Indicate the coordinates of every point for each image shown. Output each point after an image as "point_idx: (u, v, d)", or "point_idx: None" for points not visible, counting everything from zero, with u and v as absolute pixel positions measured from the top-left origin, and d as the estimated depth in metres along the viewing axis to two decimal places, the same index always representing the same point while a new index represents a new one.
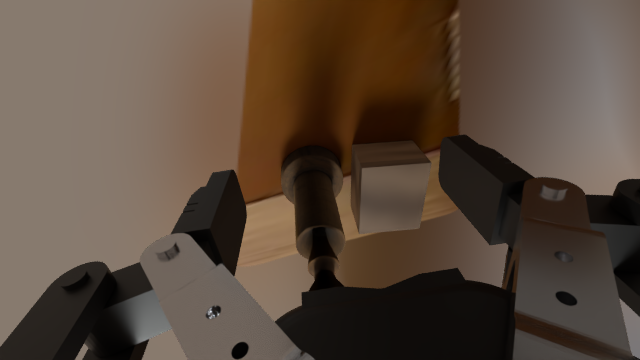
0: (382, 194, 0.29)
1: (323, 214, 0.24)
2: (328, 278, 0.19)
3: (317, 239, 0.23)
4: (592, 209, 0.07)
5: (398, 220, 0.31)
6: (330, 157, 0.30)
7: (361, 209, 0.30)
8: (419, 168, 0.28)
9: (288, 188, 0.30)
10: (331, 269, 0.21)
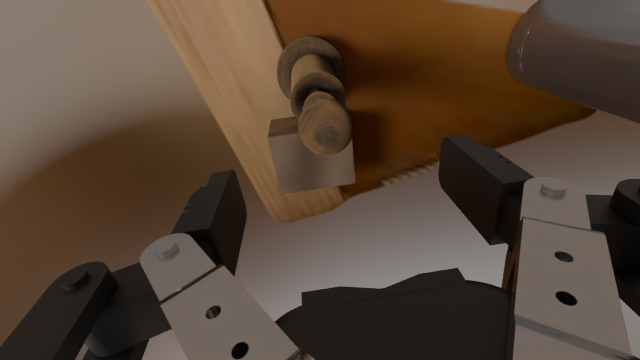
0: None
1: None
2: None
3: None
4: (592, 209, 0.07)
5: (289, 172, 0.30)
6: None
7: None
8: (349, 175, 0.31)
9: (308, 47, 0.27)
10: None
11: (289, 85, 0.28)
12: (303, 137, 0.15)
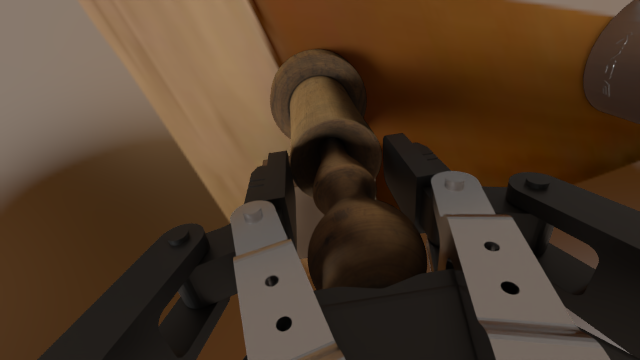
0: None
1: None
2: None
3: None
4: (489, 199, 0.08)
5: None
6: None
7: None
8: None
9: (315, 67, 0.18)
10: None
11: (287, 119, 0.20)
12: None
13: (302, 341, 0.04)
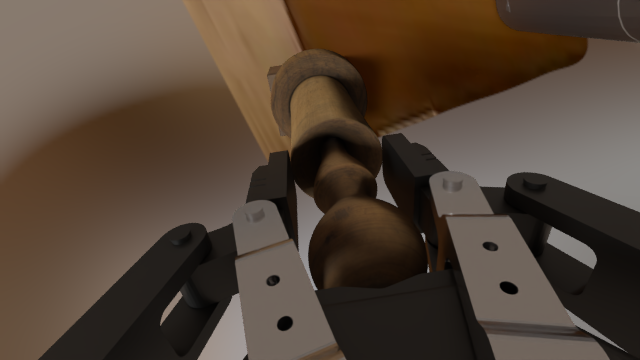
0: None
1: None
2: None
3: None
4: (487, 199, 0.08)
5: None
6: None
7: None
8: None
9: (315, 67, 0.18)
10: None
11: (288, 119, 0.20)
12: None
13: (303, 341, 0.04)
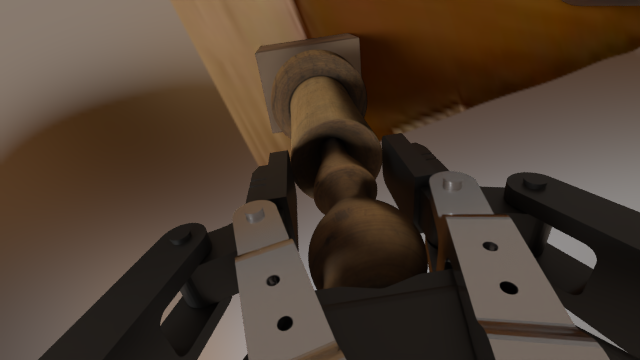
0: None
1: None
2: None
3: None
4: (487, 199, 0.08)
5: None
6: None
7: (297, 48, 0.23)
8: None
9: (315, 67, 0.18)
10: None
11: (288, 119, 0.20)
12: None
13: (303, 341, 0.04)
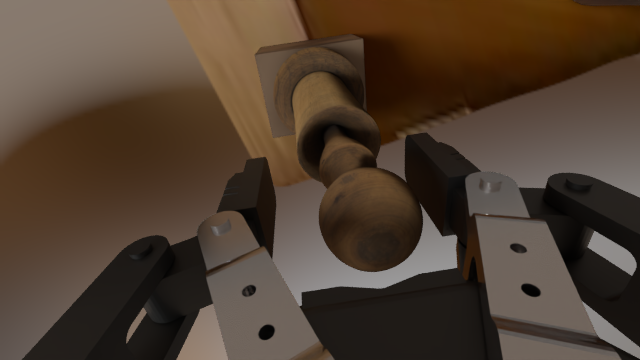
0: None
1: None
2: None
3: None
4: (526, 201, 0.08)
5: None
6: None
7: (299, 50, 0.22)
8: None
9: (315, 63, 0.20)
10: None
11: (290, 113, 0.21)
12: (331, 244, 0.08)
13: (287, 347, 0.04)
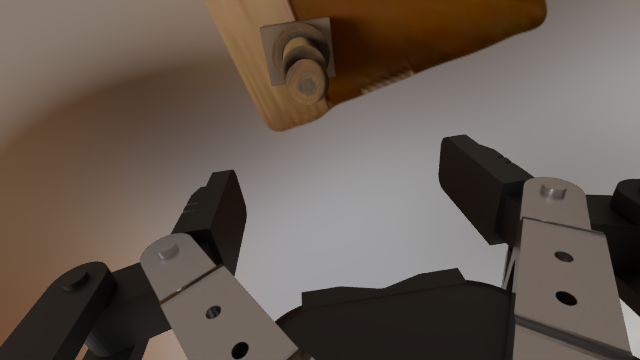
0: None
1: None
2: None
3: None
4: (592, 209, 0.07)
5: None
6: (326, 69, 0.35)
7: None
8: (330, 68, 0.37)
9: (297, 31, 0.32)
10: None
11: (282, 64, 0.33)
12: (289, 88, 0.20)
13: None
